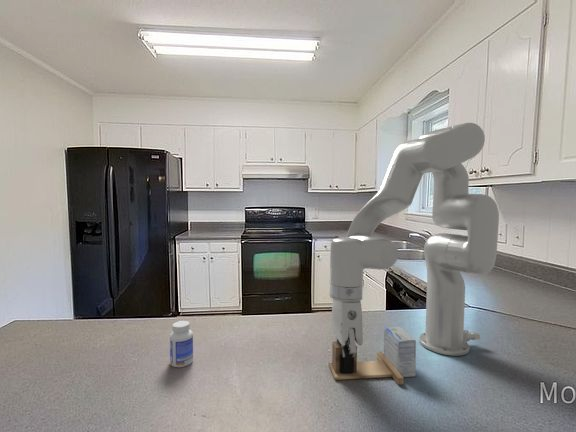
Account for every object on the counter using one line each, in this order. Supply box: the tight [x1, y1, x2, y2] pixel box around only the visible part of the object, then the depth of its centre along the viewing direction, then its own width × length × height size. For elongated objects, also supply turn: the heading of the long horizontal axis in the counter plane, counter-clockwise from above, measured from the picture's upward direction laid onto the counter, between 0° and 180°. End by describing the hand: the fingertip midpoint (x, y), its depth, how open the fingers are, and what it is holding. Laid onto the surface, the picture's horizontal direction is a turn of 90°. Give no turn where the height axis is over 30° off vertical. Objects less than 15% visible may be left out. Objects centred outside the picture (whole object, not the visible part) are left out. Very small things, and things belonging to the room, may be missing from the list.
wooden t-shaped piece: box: [328, 341, 405, 386], centre depth 72 cm, size 15×12×7 cm
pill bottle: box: [169, 320, 194, 368], centre depth 75 cm, size 5×5×10 cm
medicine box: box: [383, 326, 417, 378], centre depth 73 cm, size 8×4×9 cm, turn 6°
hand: (344, 367), depth 72 cm, fingers closed on wooden t-shaped piece, 3 cm apart
